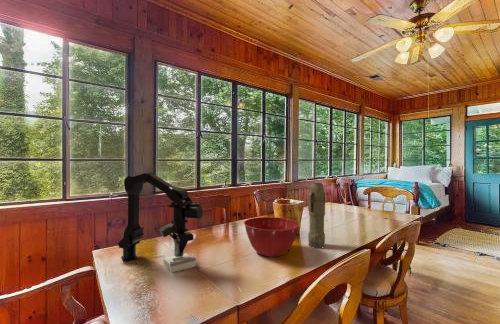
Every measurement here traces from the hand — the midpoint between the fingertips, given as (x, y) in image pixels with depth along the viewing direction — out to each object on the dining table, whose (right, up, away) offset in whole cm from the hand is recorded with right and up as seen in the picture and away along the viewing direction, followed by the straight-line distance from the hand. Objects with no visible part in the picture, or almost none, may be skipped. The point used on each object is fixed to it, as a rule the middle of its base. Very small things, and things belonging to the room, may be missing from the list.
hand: (179, 251), depth 116 cm
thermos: (+69, -6, +27) cm, 75 cm away
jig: (0, -6, 0) cm, 6 cm away
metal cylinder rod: (0, -2, 0) cm, 2 cm away
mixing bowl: (+43, -6, +17) cm, 47 cm away
